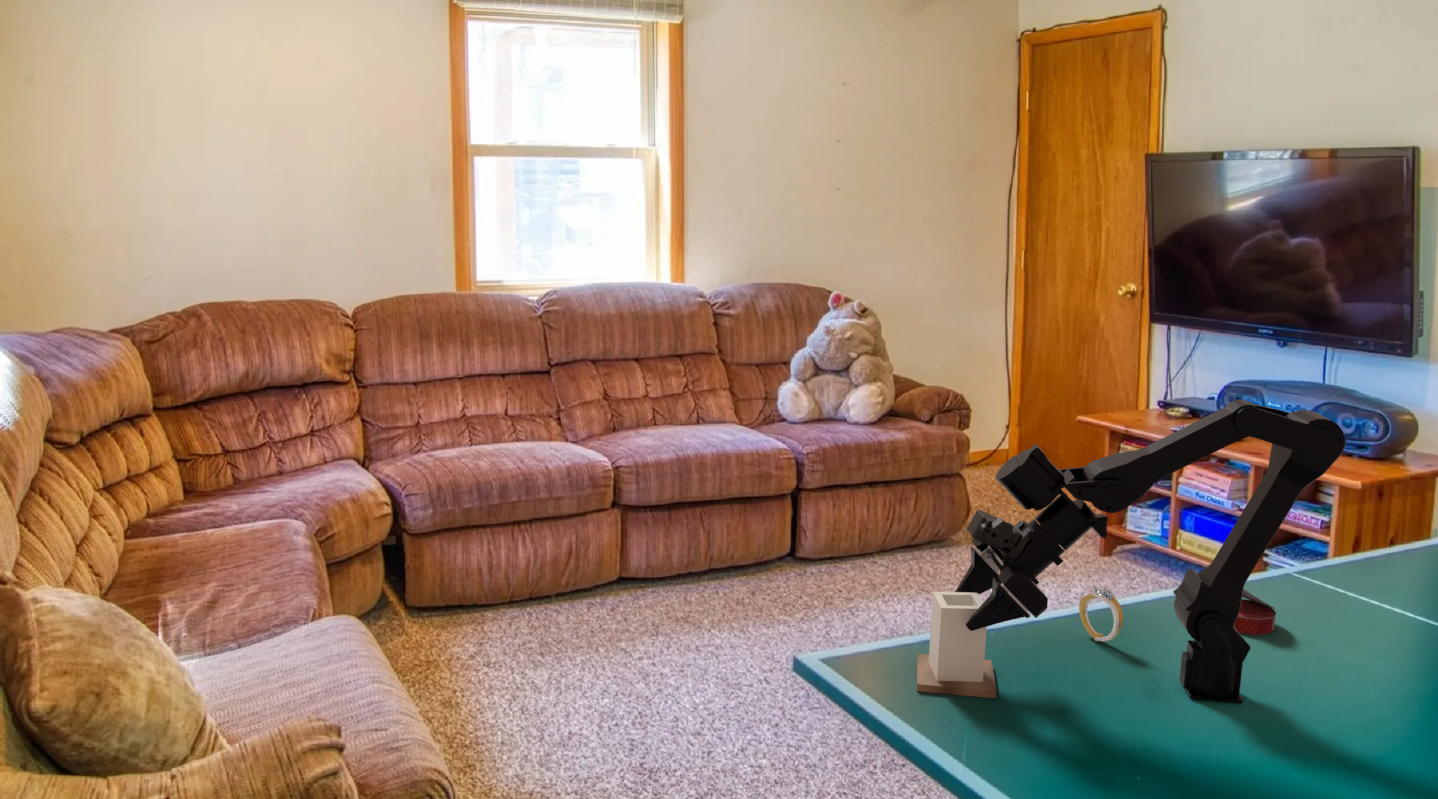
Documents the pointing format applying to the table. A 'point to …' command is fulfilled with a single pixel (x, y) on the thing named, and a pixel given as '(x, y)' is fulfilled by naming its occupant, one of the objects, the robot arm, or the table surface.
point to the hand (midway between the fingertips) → (960, 614)
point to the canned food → (1255, 616)
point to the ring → (1113, 604)
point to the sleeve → (956, 638)
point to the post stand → (966, 688)
